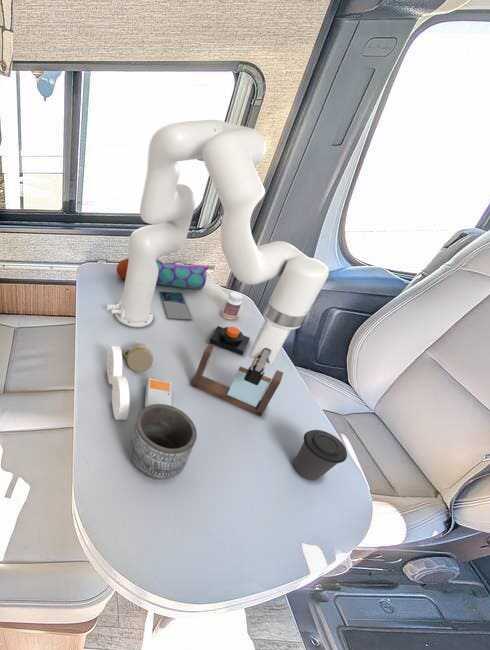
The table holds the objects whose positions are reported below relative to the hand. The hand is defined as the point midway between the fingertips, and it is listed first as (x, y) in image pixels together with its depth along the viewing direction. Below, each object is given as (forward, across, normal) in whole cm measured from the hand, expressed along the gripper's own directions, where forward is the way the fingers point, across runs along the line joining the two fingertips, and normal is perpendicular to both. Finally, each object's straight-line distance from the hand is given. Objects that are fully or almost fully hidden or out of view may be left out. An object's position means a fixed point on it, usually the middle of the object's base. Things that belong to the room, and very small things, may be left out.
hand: (255, 370), depth 94 cm
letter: (+13, +16, -28) cm, 35 cm away
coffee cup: (+12, +11, +18) cm, 24 cm away
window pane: (+11, 0, 0) cm, 11 cm away
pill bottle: (+13, -39, -13) cm, 43 cm away
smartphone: (+13, -33, -30) cm, 46 cm away
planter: (+12, +30, -11) cm, 34 cm away
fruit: (+13, -40, -52) cm, 67 cm away
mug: (+13, +1, -28) cm, 31 cm away
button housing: (+12, -24, -9) cm, 29 cm away
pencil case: (+13, -47, -35) cm, 60 cm away
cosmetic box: (+10, +8, -19) cm, 23 cm away
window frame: (+12, -1, -3) cm, 13 cm away
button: (+9, -24, -9) cm, 27 cm away
